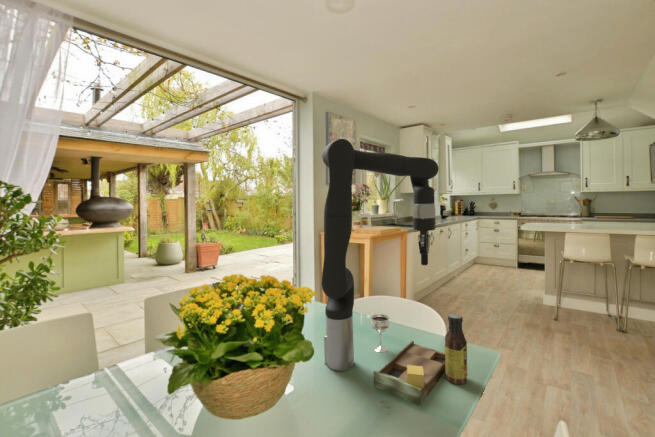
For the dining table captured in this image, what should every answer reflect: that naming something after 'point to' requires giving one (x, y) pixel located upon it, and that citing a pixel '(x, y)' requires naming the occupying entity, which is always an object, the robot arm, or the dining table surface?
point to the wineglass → (380, 328)
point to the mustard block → (415, 376)
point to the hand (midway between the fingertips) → (424, 264)
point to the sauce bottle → (455, 351)
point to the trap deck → (396, 372)
